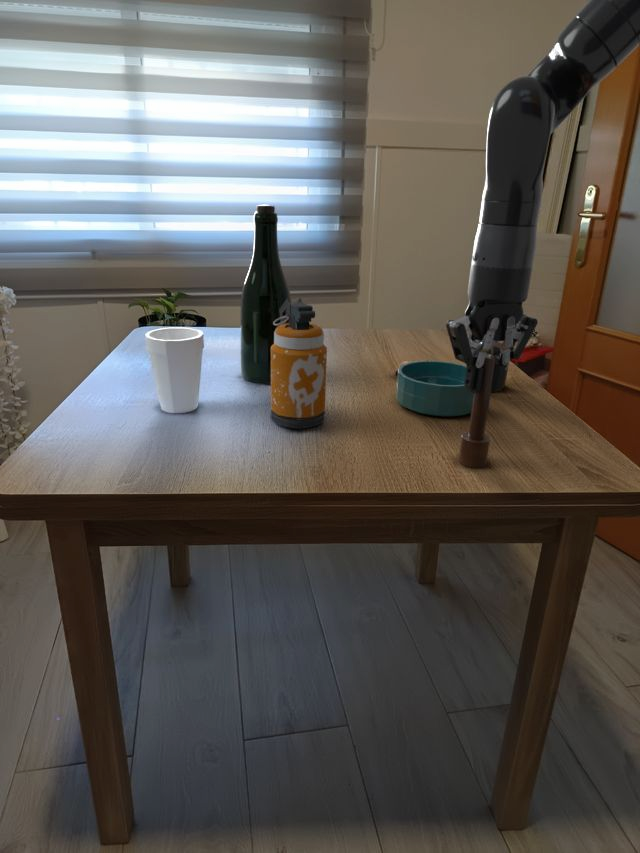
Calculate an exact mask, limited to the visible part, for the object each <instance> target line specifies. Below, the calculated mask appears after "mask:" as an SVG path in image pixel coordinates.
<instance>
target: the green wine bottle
mask: <svg viewBox="0 0 640 853" xmlns="http://www.w3.org/2000/svg"><path fill="white" fill-rule="evenodd" d="M275 207H276V206H275V205H271V204H258V205H256V211H255V212H254V215H253V224H254V237H253V238H254V239H253V251H252V252H253V254H252V259H251V263H250V266H249V270H248V272H247V275H246V277H245V281H244V284H243V287H242V291H241V297H240V372H241V376H242V377H243V379H245V380H246V381H248V382H253V383H258V384H271V346H272V345H273V344H274V332H275V331H276V328H277V327H278V326H279V325H277V326H275V325H274V324H273V322H274V321H275V320H276V319H278V318H280V312H279V309H280V308H281V306H282V305H283V304H284V302H285V301H286V299H287V298H288V301H289V303H292V296H291V291H290V286H289V283H288V281H287V277H286V275H285V272H284V269H283V266H282V263H281V258H280V254H279V252H280V251H279V244H278V242H279V241H278V223H279V222H278V221H279V218H278V213H277V212H276V211H275V210H276V208H275ZM285 315H286V309H285V310H284V312H283V313H282V316H285ZM279 323H281V321H280V319H279V320H278V321H276V322H275V324H279ZM286 323H289V320H288V321H287V322H286ZM286 323H285V324H286Z"/></svg>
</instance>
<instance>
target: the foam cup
mask: <svg viewBox="0 0 640 853" xmlns="http://www.w3.org/2000/svg"><path fill="white" fill-rule="evenodd" d="M144 337H145V348H146V350H147V352H148V356H149V361H150V365H151V369H152V374H153V379H154V382H155V384H154V385H155V388H156V392H157V396H158V400H159V405H160V409H161V410H162V411H163V412H166V413H169V414H184V413H190V412H193V411H195V410H196V409H198V406H199V398H200V388H201V387H200V386H201V376H202V363H203V362H202V361H203V353H204V352H203V351H204V348H205V338H204V332H203V331H202V330H200V329H196V328H192V327H191V328H190V327H163V328H162V327H161V328H157V329H153V330H149V331H147V332H146V333H145V334H144Z"/></svg>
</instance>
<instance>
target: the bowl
mask: <svg viewBox="0 0 640 853" xmlns="http://www.w3.org/2000/svg"><path fill="white" fill-rule="evenodd" d="M399 366H400V365H399ZM466 367H467V366H466V364H460V363H455V362H451V361H442V360H418V361H417V360H416V362H415V361H413V362H411V363H406V364H404V365H402V366H400V367H399V369H398V374H397V376H396V388H395V399H396V402H397V403H398V404H400V405H401V407H404V408H406V409H408V410H410V411H412V412H415V413H418V414H420V415H421V414H422V415H426V416H431V417H442V418H443V417H444V418H450V417H460V416H466V415H468V414H471V412H472V405H473V398H474V394H473V393H471V392H469V391H468V390H467V389H466V387H465V384H464V382H465V374H466Z"/></svg>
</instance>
